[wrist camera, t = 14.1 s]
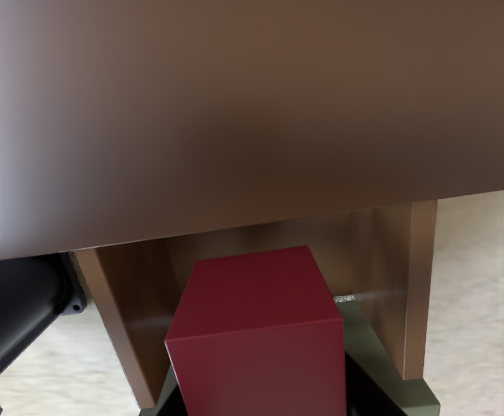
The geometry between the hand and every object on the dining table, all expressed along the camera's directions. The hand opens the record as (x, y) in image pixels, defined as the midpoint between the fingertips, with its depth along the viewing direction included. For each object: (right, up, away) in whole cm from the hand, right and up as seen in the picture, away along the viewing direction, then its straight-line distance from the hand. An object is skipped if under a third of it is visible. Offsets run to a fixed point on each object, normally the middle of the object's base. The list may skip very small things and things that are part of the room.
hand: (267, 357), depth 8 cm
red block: (0, 0, +1) cm, 1 cm away
